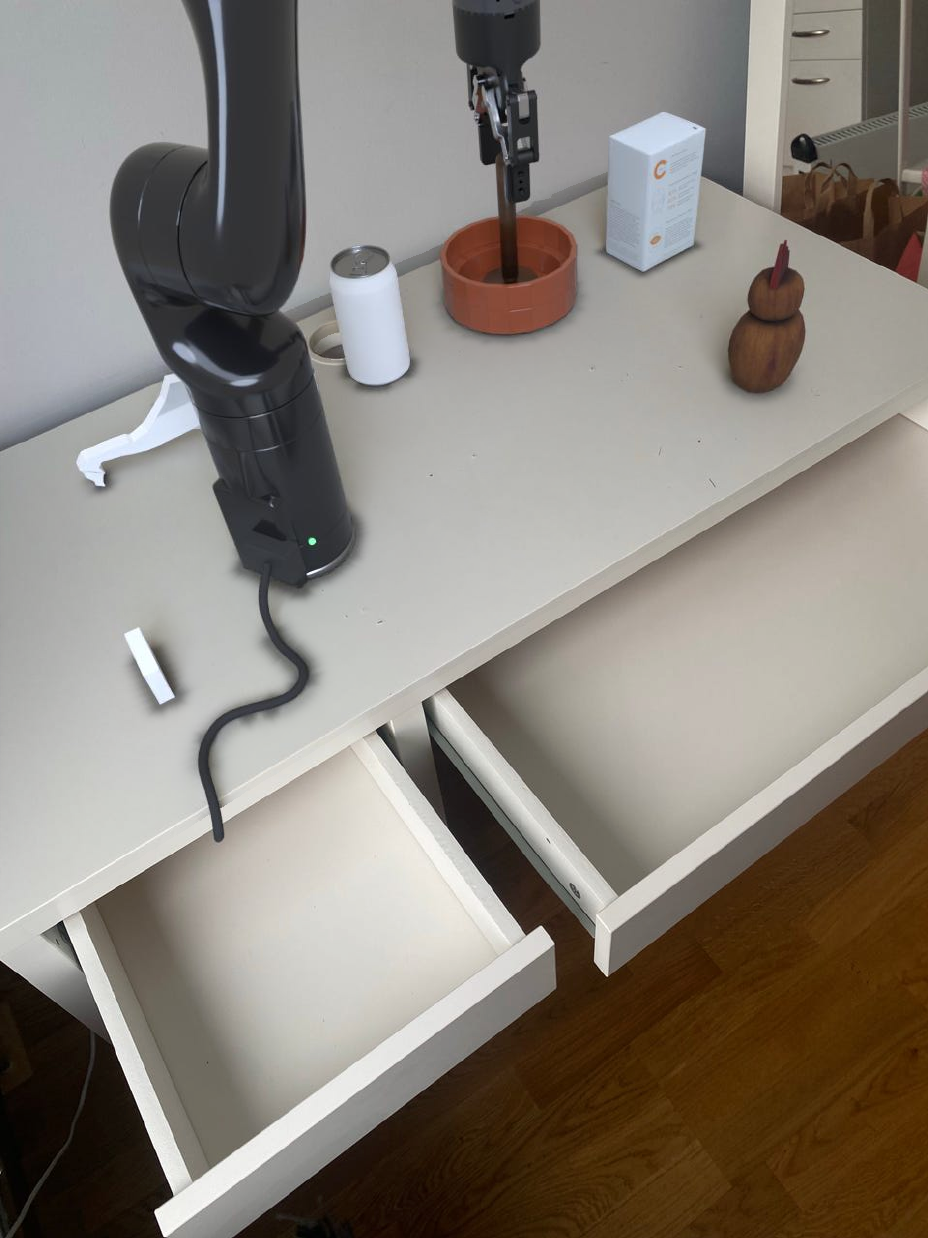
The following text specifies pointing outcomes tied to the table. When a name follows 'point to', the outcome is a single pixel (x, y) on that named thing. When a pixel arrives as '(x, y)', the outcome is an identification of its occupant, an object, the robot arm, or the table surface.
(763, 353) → the wooden figurine
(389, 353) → the can
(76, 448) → the table surface
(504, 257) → the brown post on disc
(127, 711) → the table surface
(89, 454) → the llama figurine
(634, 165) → the small box
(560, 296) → the bowl
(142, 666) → the eraser
